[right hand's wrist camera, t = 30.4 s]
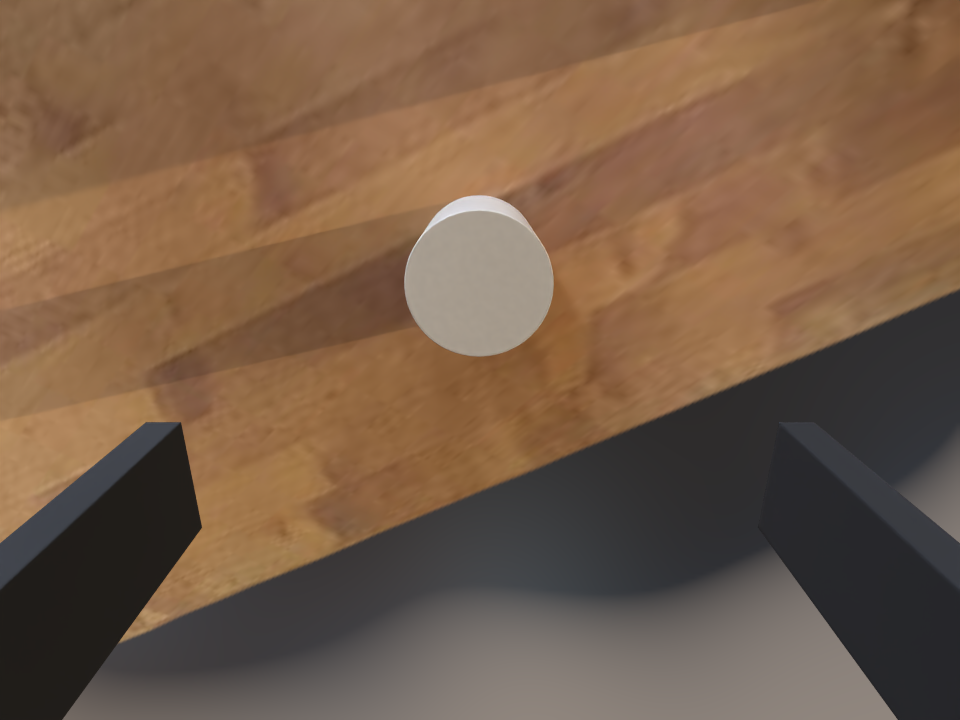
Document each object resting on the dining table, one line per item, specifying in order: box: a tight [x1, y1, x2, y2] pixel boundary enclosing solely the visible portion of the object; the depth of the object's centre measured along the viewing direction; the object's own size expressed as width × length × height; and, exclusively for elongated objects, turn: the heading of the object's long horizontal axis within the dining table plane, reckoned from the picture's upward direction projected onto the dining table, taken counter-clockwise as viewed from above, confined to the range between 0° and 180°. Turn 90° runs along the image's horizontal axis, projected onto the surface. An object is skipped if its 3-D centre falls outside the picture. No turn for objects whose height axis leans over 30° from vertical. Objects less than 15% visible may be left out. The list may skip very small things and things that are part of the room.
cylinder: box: [404, 195, 554, 357], centre depth 36 cm, size 8×8×10 cm
